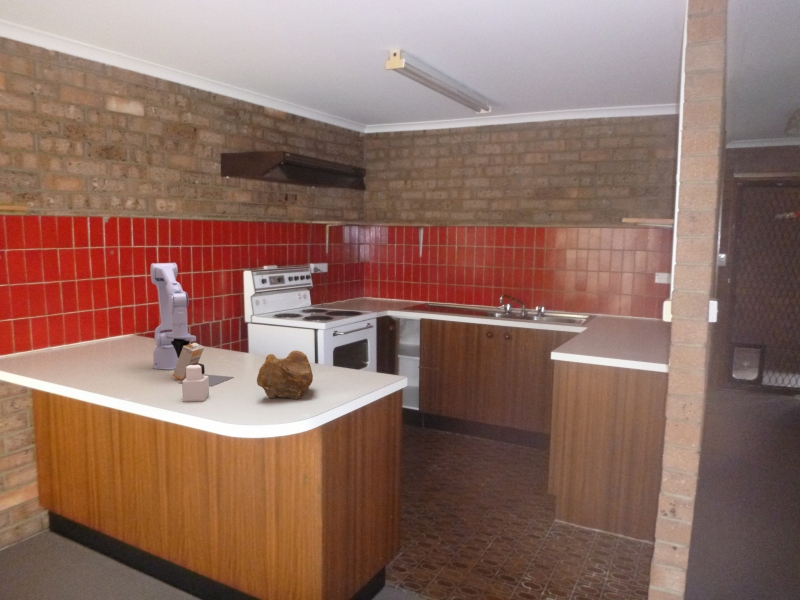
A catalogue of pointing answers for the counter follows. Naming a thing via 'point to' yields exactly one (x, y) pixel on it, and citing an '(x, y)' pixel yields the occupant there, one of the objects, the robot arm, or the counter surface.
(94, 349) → the counter surface
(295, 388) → the rough brown rock
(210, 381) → the mat
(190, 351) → the supplement box
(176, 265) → the robot arm
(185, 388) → the medicine bottle
